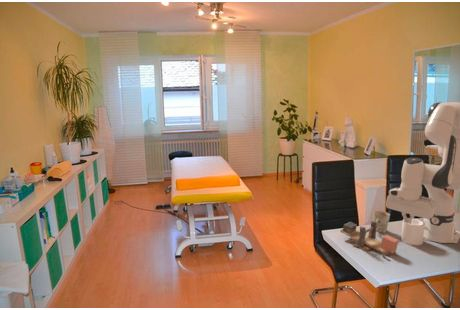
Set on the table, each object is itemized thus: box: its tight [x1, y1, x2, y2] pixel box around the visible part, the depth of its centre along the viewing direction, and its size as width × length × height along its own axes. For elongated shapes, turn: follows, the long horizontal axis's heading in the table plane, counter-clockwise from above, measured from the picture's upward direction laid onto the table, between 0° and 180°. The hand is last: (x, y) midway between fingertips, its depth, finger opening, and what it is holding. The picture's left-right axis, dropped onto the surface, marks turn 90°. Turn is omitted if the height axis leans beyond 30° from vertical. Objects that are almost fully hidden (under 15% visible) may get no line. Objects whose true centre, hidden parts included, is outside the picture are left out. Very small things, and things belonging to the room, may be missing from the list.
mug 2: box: [400, 217, 431, 246], centre depth 182 cm, size 14×10×11 cm
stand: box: [352, 220, 387, 258], centre depth 176 cm, size 16×13×11 cm
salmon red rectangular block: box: [380, 234, 399, 254], centre depth 170 cm, size 6×4×6 cm, turn 39°
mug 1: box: [373, 210, 391, 234], centre depth 194 cm, size 8×13×10 cm, turn 140°
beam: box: [340, 221, 391, 256], centre depth 179 cm, size 26×9×7 cm, turn 39°
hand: (407, 222), depth 162 cm, fingers closed
